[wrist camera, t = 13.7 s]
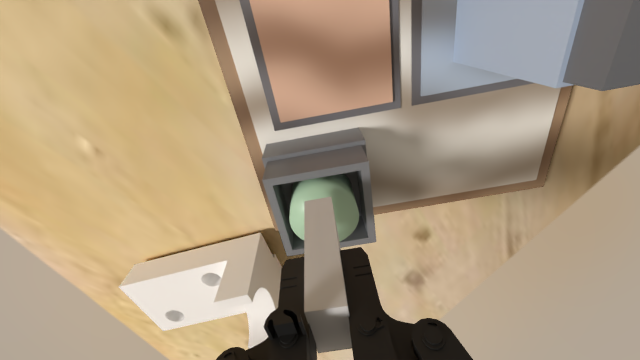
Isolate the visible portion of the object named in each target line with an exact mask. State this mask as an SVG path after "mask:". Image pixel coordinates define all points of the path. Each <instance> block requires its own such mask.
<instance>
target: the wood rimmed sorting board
mask: <svg viewBox="0 0 640 360" xmlns="http://www.w3.org/2000/svg"><path fill="white" fill-rule="evenodd" d="M198 1H199V4H200V7H201V10H202V13H203V16H204V19H205V22H206V25H207V28H208V31H209V34H210V37H211V40H212V43H213V46H214V49H215V52H216V55H217V58H218V61H219V64H220V67H221V70H222V73H223V76H224V79H225V82H226V85H227V87H228V90H229V93H230V96H231V99H232V102H233V105H234V108H235V111H236V114H237V117H238V120H239V123H240V126H241V129H242V132H243V135H244V138H245V141H246V144H247V147H248V150H249V153H250V156H251V159H252V162H253V165H254V168H255V171H256V174H257V177H258V180H259V183H260V186H261V189H262V192H263V195H264V198H265V201H266V204H267V207H268V210H269V213H270V216H271V219H272V222H273V224H274V227H275V230H276V231H279V230H278V227H277V224H276V221H275V218H274V215H273V212H272V209H271V206H270V203H269V200H268V197H267V194H266V191H265V188H264V185H263V181H262V179H263V175H264V171H265V168H264V164H263V161H262V156H263V153H264V150H265V147H266V144H270V143H275V142H281V141H286V140H292V139H297V138H303V137H308V136H314V135H319V134H325V133H330V132H336V131H341V130H347V129H352V128H358V127H359V129H360V131H361V133H362V134H363V136H364V138H365V142H366V153H367V159H368V161H369V169H370V180H371V190H372V201H373V212H374V215H376V214H382V213H388V212H394V211H400V210H406V209H412V208H418V207H424V206H430V205H436V204H442V203H447V202H453V201H459V200H465V199H471V198H477V197H483V196H489V195H495V194H501V193H507V192H513V191H519V190H525V189H531V188H537V187H543V186H544V183H545V180H546V176H547V173H548V169H549V166H550V162H551V159H552V156H553V152H554V149H555V145H556V142H557V138H558V135H559V131H560V128H561V124H562V121H563V117H564V114H565V110H566V107H567V103H568V100H569V97H570V93H571V90H572V86H573V85H571V86H566V87H561V88H552V87H549V86H545V85H541V84H537V83H533V82H529V81H525V80H521V79H517V78H514V77H510V76H506V75H502V74H498V73H494V72H490V71H486V70H482V69H479V68H475V67H471V66H467V65H463V64H459V63H455V62H453V56H454V41H455V27H456V12H457V0H198Z"/></svg>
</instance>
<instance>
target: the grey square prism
mask: <svg viewBox="0 0 640 360" xmlns="http://www.w3.org/2000/svg"><path fill="white" fill-rule="evenodd" d="M453 62H455V63H459V64H463V65H467V66H471V67H475V68H479V69H482V70H486V71H490V72H494V73H498V74H502V75H506V76H510V77H514V78H517V79H521V80H525V81H529V82H533V83H537V84H541V85H545V86H549V87H552V88H561V87H566V86H571V85H578V86H582V87H587V88H591V89H595V90H600V91H605V90H611V89H616V88H622V87H627V86H633V85H638V84H640V0H457V12H456V27H455V41H454V56H453Z"/></svg>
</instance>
